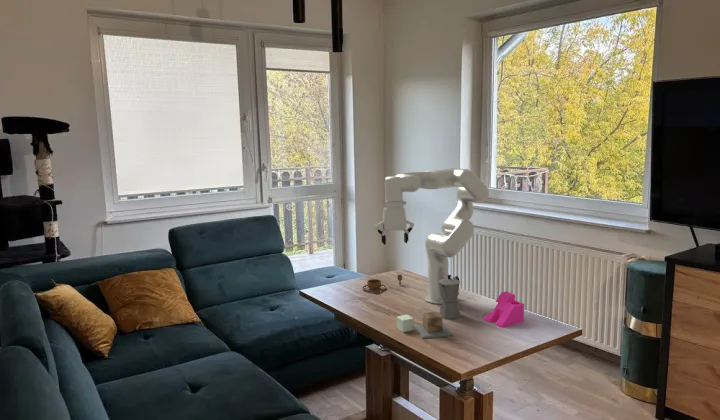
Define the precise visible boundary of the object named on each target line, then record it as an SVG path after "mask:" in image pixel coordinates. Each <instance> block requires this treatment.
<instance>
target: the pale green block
mask: <svg viewBox="0 0 720 420" xmlns="http://www.w3.org/2000/svg"><path fill="white" fill-rule="evenodd" d="M414 319H415V318H414V317H413V316H411V315H409V314H403V315H398V316H396V329H397V328H398V329H397V330H399V331H400V332H401V333H406V332H407V333H408V332H411V330H412V331H414V329H415V328H414V325H415V323H414Z"/></svg>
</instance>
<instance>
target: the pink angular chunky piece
mask: <svg viewBox="0 0 720 420" xmlns="http://www.w3.org/2000/svg"><path fill="white" fill-rule="evenodd" d="M495 303H497V304H496V305H495V307H494V308H493V310H492V311H491V312H488V313H486V315H484V316H485V317H484V319H483V321H486V322H489V323H492V322H495V326H496V327H499V328H501V329H502V328H506V327H509V326H513V325H516V324H520V323H524V322H525V303H523V302H521V301H518V300H516V294H514V293H512V292H509V291H503V292H501V293H500V294H499V295H498V297H497V298H496V299H495Z"/></svg>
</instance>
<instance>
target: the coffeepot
mask: <svg viewBox="0 0 720 420" xmlns="http://www.w3.org/2000/svg"><path fill="white" fill-rule="evenodd" d="M447 276H448V279H442V280H439V288H440V294H441V297H442V300H441V304H440V308H439V312H438V313H439V314H440V315H441V316H442V319H445V320H454V319H458V318H460V316H461V312H460V305H459V301H458V296H459V295H458V291H460V284H461V283H460V282H461V280H460V278H459V276H458V275H456V276H453V277H452V275H451V274H448V275H447Z"/></svg>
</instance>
